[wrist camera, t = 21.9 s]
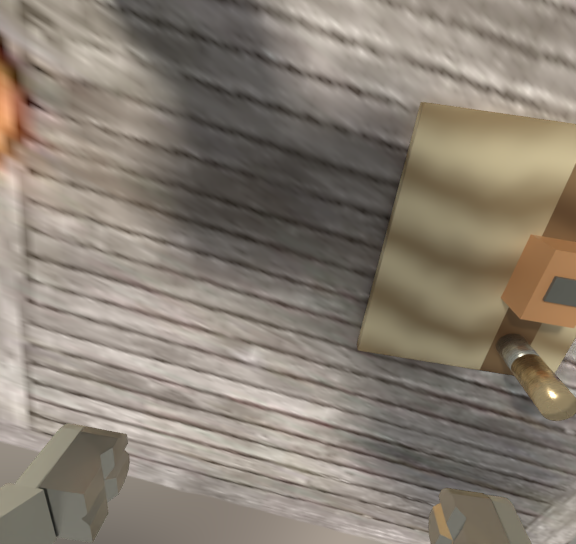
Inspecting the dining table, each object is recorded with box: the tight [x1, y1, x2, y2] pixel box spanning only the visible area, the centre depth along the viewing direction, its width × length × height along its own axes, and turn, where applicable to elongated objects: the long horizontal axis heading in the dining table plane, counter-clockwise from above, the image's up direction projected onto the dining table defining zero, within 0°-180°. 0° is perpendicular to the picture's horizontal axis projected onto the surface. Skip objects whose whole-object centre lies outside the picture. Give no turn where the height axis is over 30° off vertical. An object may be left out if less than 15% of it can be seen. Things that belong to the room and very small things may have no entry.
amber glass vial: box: [496, 334, 576, 421], centre depth 35 cm, size 3×3×9 cm
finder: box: [501, 234, 576, 328], centre depth 33 cm, size 7×5×4 cm
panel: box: [357, 102, 576, 376], centre depth 36 cm, size 26×22×1 cm
